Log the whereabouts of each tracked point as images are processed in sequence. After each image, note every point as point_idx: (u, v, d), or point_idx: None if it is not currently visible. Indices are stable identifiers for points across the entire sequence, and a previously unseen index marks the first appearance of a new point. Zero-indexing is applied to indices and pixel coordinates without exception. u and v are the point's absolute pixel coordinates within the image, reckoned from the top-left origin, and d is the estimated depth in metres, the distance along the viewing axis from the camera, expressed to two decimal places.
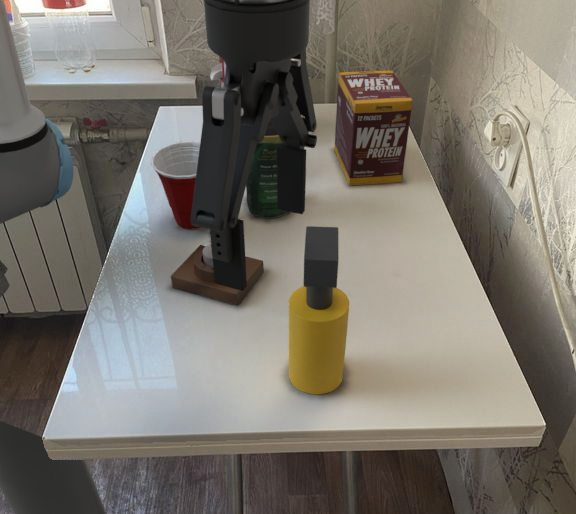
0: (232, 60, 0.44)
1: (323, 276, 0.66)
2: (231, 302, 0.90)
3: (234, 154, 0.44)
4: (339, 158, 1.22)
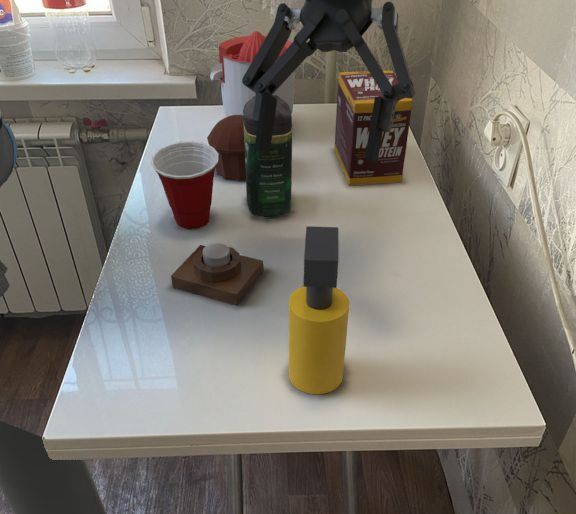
0: None
1: (323, 276, 0.66)
2: (231, 302, 0.90)
3: None
4: (339, 158, 1.22)
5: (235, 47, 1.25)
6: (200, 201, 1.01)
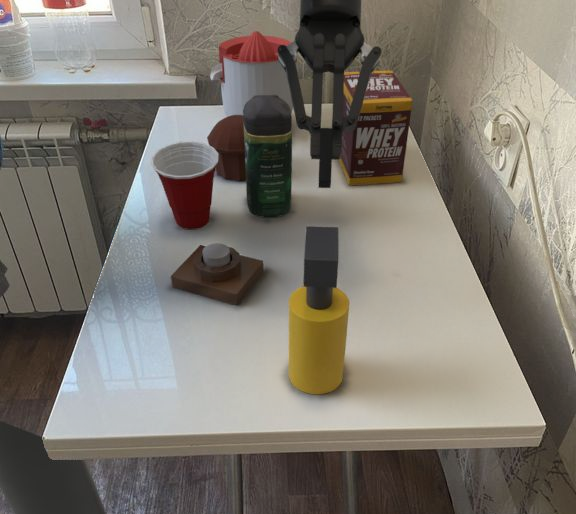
0: (360, 24, 0.76)
1: (323, 276, 0.66)
2: (231, 302, 0.90)
3: None
4: None
5: (235, 47, 1.25)
6: (200, 201, 1.01)
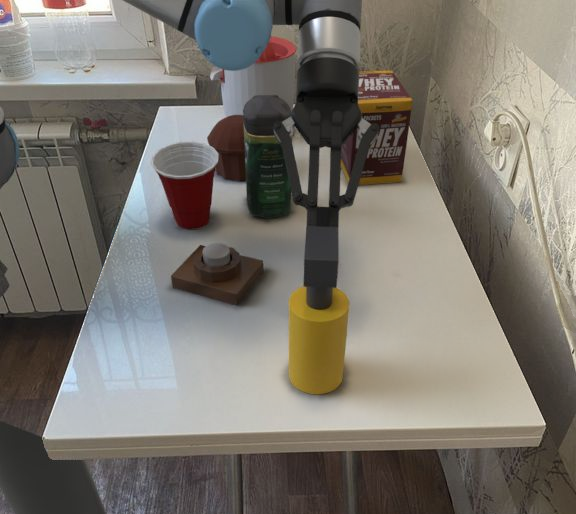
0: None
1: (323, 276, 0.66)
2: (231, 302, 0.90)
3: None
4: None
5: None
6: (200, 201, 1.01)
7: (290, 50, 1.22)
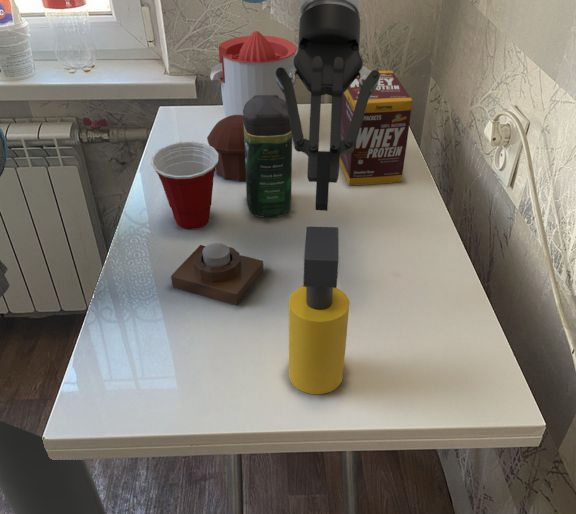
0: None
1: (323, 276, 0.66)
2: (231, 302, 0.90)
3: None
4: (339, 158, 1.22)
5: (235, 47, 1.25)
6: (200, 201, 1.01)
7: (290, 50, 1.22)
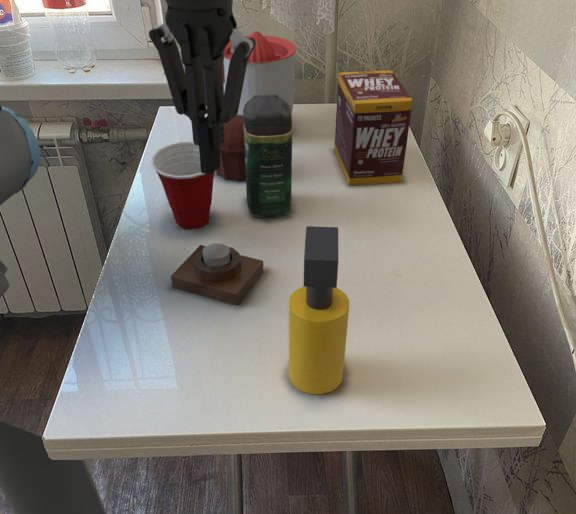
0: (228, 6, 0.67)
1: (323, 276, 0.66)
2: (231, 302, 0.90)
3: None
4: (339, 158, 1.22)
5: None
6: (200, 201, 1.01)
7: (290, 50, 1.22)
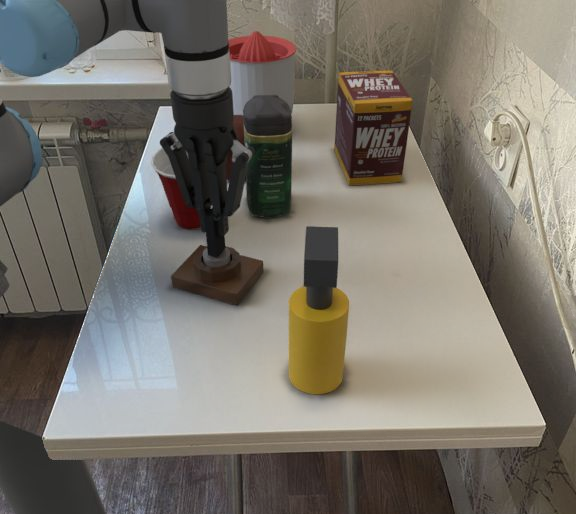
0: (229, 124, 0.76)
1: (323, 276, 0.66)
2: (231, 302, 0.90)
3: None
4: (339, 158, 1.22)
5: (235, 47, 1.25)
6: None
7: (290, 50, 1.22)
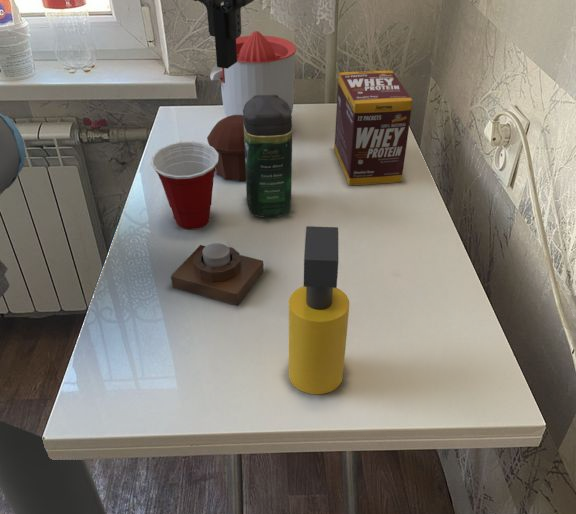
0: None
1: (323, 276, 0.66)
2: (231, 302, 0.90)
3: None
4: (339, 158, 1.22)
5: None
6: (200, 201, 1.01)
7: (290, 50, 1.22)
